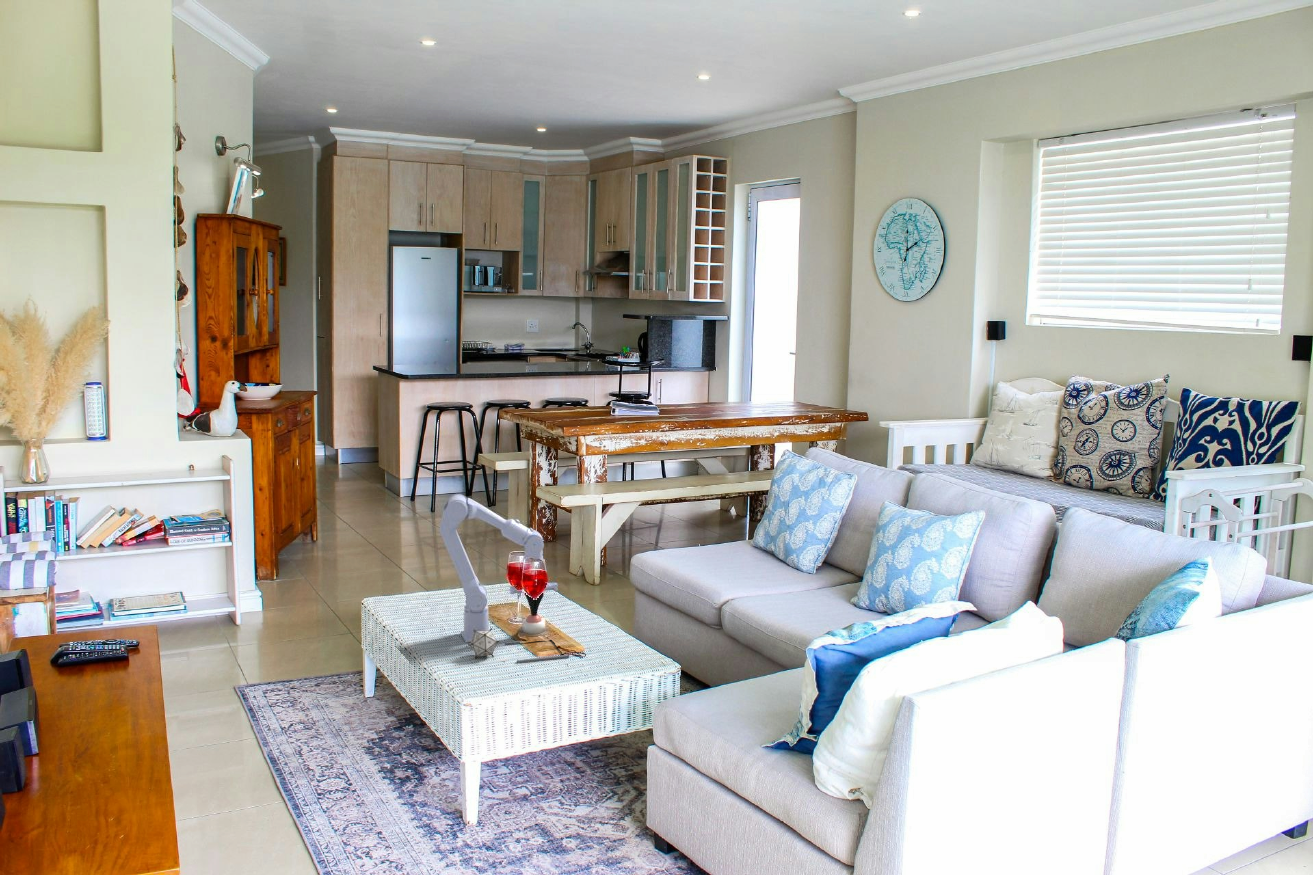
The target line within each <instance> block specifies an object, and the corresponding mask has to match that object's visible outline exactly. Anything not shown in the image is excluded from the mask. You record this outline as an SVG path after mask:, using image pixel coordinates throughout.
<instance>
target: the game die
mask: <svg viewBox="0 0 1313 875" xmlns="http://www.w3.org/2000/svg"><path fill="white" fill-rule="evenodd" d="M489 628H490V629H489V630H487V631H476V630H474V632H475V633H474V636H473V639H472V641H471V642H470V643H468V644H467V646H469V647H471V649H472V650H473V653H474V655H475V660H476V659H477V658H478V657H488V656H491V657H492V658H494V651H495V649H496V646H497V643H498V644H499V643H500V641H499V640H497V639H496V637H495V636H494V634H493V632H492V630H493V627H489Z"/></svg>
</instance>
